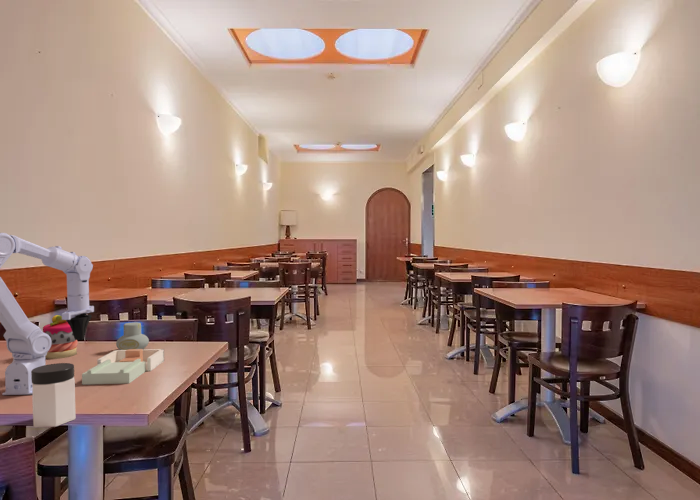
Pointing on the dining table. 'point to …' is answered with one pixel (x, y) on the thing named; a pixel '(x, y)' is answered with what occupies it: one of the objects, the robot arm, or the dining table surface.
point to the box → (149, 356)
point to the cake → (60, 339)
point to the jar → (53, 394)
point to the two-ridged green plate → (114, 372)
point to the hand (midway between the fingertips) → (79, 339)
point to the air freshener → (132, 337)
